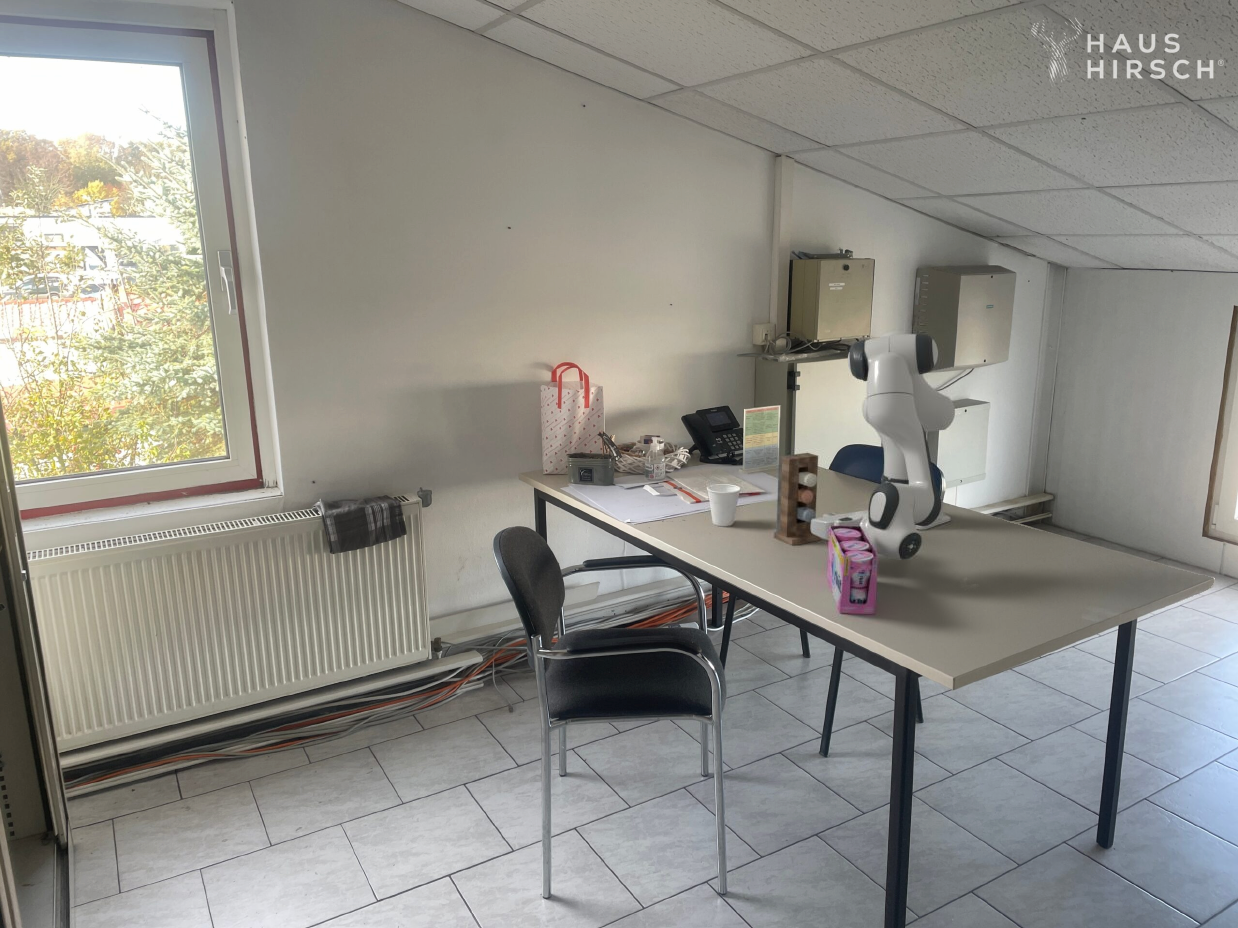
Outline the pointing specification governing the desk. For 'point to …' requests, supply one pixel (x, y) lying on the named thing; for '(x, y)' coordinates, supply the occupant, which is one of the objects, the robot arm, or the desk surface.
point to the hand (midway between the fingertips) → (827, 516)
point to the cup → (723, 503)
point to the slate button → (805, 514)
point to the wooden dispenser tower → (794, 498)
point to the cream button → (807, 479)
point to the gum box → (852, 570)
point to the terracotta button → (804, 496)
